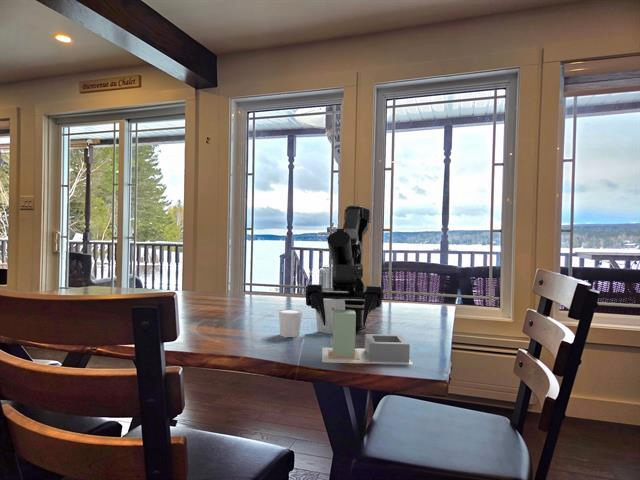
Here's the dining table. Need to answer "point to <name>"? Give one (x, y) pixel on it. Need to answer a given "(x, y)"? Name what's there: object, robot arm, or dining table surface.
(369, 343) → the white board with socket
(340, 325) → the plug
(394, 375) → the dining table surface
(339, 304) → the small box
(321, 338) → the dining table surface
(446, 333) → the dining table surface
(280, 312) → the white cup
